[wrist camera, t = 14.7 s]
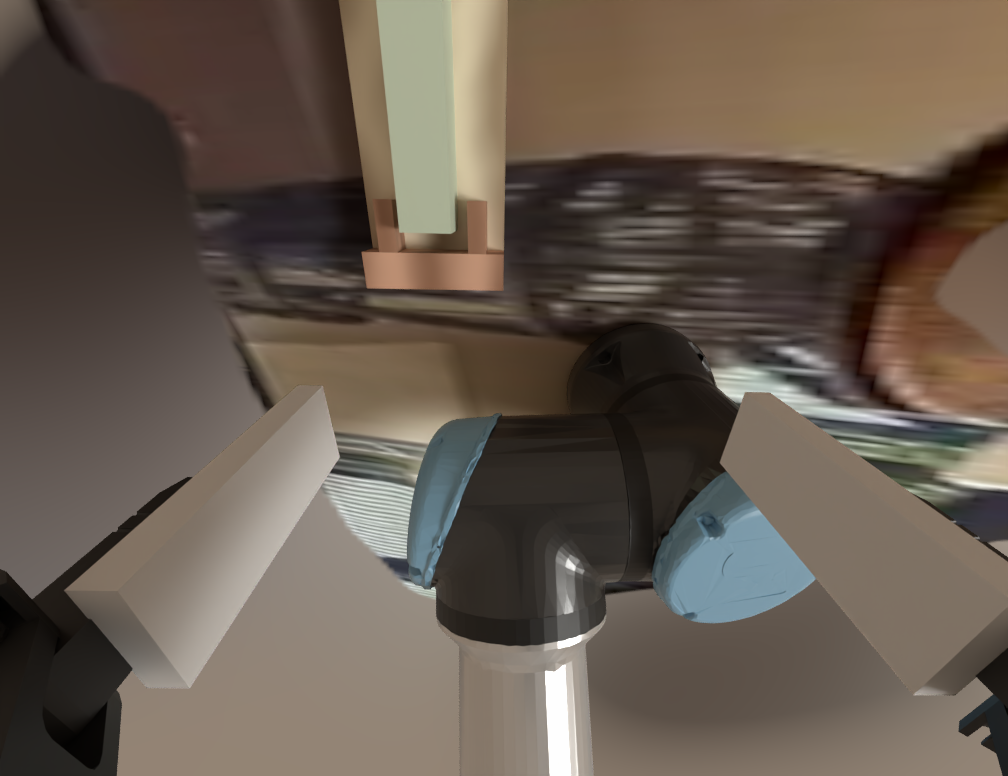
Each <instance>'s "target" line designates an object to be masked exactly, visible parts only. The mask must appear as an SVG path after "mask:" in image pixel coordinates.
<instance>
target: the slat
mask: <svg viewBox="0 0 1008 776" xmlns="http://www.w3.org/2000/svg"><path fill="white" fill-rule="evenodd" d="M376 5H377V15H378V25H379V35H380V45H381V55H382V65H383V75H384V85H385V95H386V104H387V114H388V124H389V134H390V144H391V154H392V164H393V174H394V184H395V194H396V204H397V214H398V224H399V233H438V234H452V233H453V232H455V231H457V230H458V200H457V169H456V138H455V106H454V75H453V44H452V13H451V0H376Z"/></svg>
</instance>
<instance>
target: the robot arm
mask: <svg viewBox="0 0 1008 776" xmlns="http://www.w3.org/2000/svg"><path fill="white" fill-rule="evenodd" d="M567 400H568V405H569V408H570V412H571V414H553V415H522V416H502V414H501V413H496V414H494V415H493V416H490V417H477V418H465V419H456V420H452V421H450V422H448V423H446V424H444V425H443V426H442V427H441V428H440V429H439V430H438V431H437V432H436V433H435V435H434V436H433V438H432V439H431V441H430V443H429V445H428V447H427V450H426V453H425V455H424V458H423V460H422V464H421V467H420V470H419V474H418V477H417V481H416V486H415V490H414V495H413V500H412V505H411V512H410V519H409V528H408V538H407V560H408V563H409V575H410V578H411V580H412V582H413V583H414V584H415V585H418V586H422V587H423V588H424V589H431V588H432V587H435V588H436V617H437V622H438V625H439V627H440V628H441V629H442V631H443V632H444V633H445V634H446V635H448V636H449V637H450V638H451V639H452V640H453V641H454V642H455V643H457V644H458V646H459V736H460V738H459V741H460V742H459V748H460V749H459V750H460V751H459V752H460V776H594V773H593V758H592V742H591V726H590V713H589V695H588V681H587V680H588V679H587V664H586V650H585V649H586V648H585V645H586V643H587V642H588V641H589V640H590V639H591V638H592V637H593V636H594V635H595V634H596V633H597V632H598V631H599V630H600V629H601V628H602V626H603V625H604V623H605V620H606V601H605V583H606V582H619V581H653V586H654V590H655V592H656V593H657V595H658V596H659V597H660V599H662V600H663V601H664V603H665V604H666V605H667V607H668V608H669V609H670V610H671V611H673V612H675V613H676V614H678V615H682V616H683V617H684V618H686V619H688V620H691V621H695V622H701V623H723V622H730V621H735V620H739V619H744V618H747V617H751V616H754V615H756V614H759V613H761V612H764V611H767V610H769V609H771V608H773V607H775V606H777V605H779V604H781V603H783V602H785V601H786V600H788V599H790V598H791V597H792V596H794V595H796V594H798V593H799V592H800V591H802V590H803V589H804V588H806V587H807V586H808V585H809V584H811V583H812V582H813V581H814V580H815V579H817V580H818V581H819V583H820V584H821V585H822V586H823V587H824V589H825V590H826V591H827V592H828V593H829V595H830V596H831V597H832V598H833V599H834V601H835V602H836V603H837V604H838V605H839V607H840V608H841V609H842V610H843V611H844V613H845V614H846V615H847V616H848V617H849V618H850V620H851V621H852V622H853V623H854V624H855V626H856V627H857V628H858V629H859V630H860V632H861V633H862V634H863V635H864V637H865V638H866V639H867V640H868V641H869V642H870V644H871V645H872V646H873V647H874V648H875V650H876V651H877V652H878V653H879V655H880V656H881V657H882V658H883V659H884V661H885V662H886V663H887V664H888V665H889V666H890V668H891V669H892V670H893V671H894V673H896V675H897V676H898V677H899V679H900V680H901V681H902V682H903V683H904V685H905V686H906V687H907V688H908V689H909V691H910V692H911V693H912V694H913V695H956V694H957V693H958V692H959V691H961V690H962V689H963V688H964V687H965V686H966V685H968V684H969V683H970V682H971V681H972V680H973V679H975V678H976V677H977V678H978V679H979V680H980V681H981V682H982V683H983V684H984V685H985V686H986V687H987V688H988V689H989V690H990V691H991V692H992V693H993V695H992V696H991V697H990V698H988V699H987V700H986V701H984V702H983V703H982V704H981V705H980V706H978V707H977V708H976V709H974V710H973V711H972V712H971V713H969V714H968V715H967V716H966V717H964V718H963V719H962V720H960V721H959V732H960V733H962V734H964V735H965V736H969V735H971V734H972V733H973V732H975V731H976V730H978V729H979V728H980V727H981V726H986V727H989V728H990V732H991V734H990V735H989V736H988V737H986V738H985V739H984V740H983V741H982V742H981V745H983V746H985V747H986V748H988V749H990V750H992V751H994V752H995V753H996V754H997V757H998V760H999V764H1000V768H1001V771H1002V775H1003V776H1008V557H1007V556H1005V555H1004V554H1002V553H1001V552H1000V551H998V550H997V549H995V548H994V547H992V546H991V545H990V544H988V543H987V542H981V541H980V540H979V537H978V536H977V535H975V534H974V533H972V532H971V531H970V530H968V529H967V528H965V527H964V526H962V525H957V524H956V521H955V520H954V519H953V518H951V517H950V516H948V515H947V514H945V513H944V512H943V511H941V510H940V509H938V508H937V507H935V506H934V505H933V504H931V503H930V502H928V501H926V500H924V499H922V498H920V497H918V496H916V495H914V494H912V493H911V492H909V491H907V490H906V489H905V488H903V487H902V486H900V485H899V484H898V483H896V482H895V481H893V480H892V479H891V478H889V477H888V476H886V475H885V474H884V473H882V472H881V471H879V470H878V469H876V468H875V467H874V466H872V465H871V464H869V463H868V462H867V461H865V460H864V459H862V458H861V457H860V456H858V455H857V454H855V453H854V452H853V451H851V450H850V449H848V448H847V447H846V446H844V445H843V444H841V443H840V442H838V441H837V440H836V439H834V438H833V437H831V436H830V435H829V434H827V433H826V432H824V431H823V430H822V429H820V428H819V427H817V426H816V425H815V424H813V423H812V422H810V421H809V420H808V419H806V418H805V417H803V416H802V415H801V414H799V413H798V412H796V411H795V410H793V409H792V408H791V407H789V406H788V405H786V404H785V403H784V402H782V401H781V400H779V399H778V398H777V397H775V396H774V395H772V394H771V393H763V392H745V394H744V397H743V400H742V403H741V405H740V406H738V405H737V404H736V403H735V402H734V401H732V400H731V399H730V398H729V397H727V396H726V395H725V394H724V393H723V392H722V391H720V390H719V389H718V388H717V385H716V382H715V380H714V377H713V374H712V372H711V368H710V366H709V363H708V361H707V359H706V357H705V355H704V354H703V353H702V351H701V350H700V349H699V348H698V347H697V346H696V345H695V344H694V343H693V342H692V341H690V340H689V339H688V338H686V337H685V336H684V335H682V334H681V333H679V332H678V331H676V330H674V329H671V328H669V327H666V326H662V325H657V324H634V325H629V326H625V327H622V328H619V329H616V330H613V331H611V332H609V333H607V334H605V335H604V336H602V337H600V338H599V339H598V340H596V341H595V342H594V343H592V344H591V345H590V346H589V347H588V348H587V349H586V350H585V351H584V352H583V353H582V355H581V356H580V357H579V359H578V360H577V362H576V363H575V365H574V367H573V369H572V372H571V374H570V377H569V381H568V386H567ZM339 457H340V456H339V452H338V448H337V443H336V439H335V435H334V431H333V426H332V422H331V418H330V414H329V410H328V405H327V401H326V397H325V393H324V388H323V385H297V386H296V387H295V388H294V389H293V390H292V391H291V392H289V393H288V394H287V395H286V396H285V397H284V398H283V399H281V400H280V401H279V402H278V403H277V404H276V405H275V406H274V407H272V408H271V409H270V410H269V411H268V412H267V413H266V414H264V415H263V416H262V417H261V418H260V419H259V420H258V421H256V423H254V424H253V425H252V426H251V427H250V428H249V429H247V430H246V431H245V432H244V433H243V434H242V435H241V436H240V437H238V438H237V439H236V440H235V441H234V442H233V443H232V444H230V445H229V446H228V447H227V448H226V449H225V450H223V451H222V452H221V453H220V454H219V455H218V456H217V457H216V458H214V459H213V460H212V461H211V462H210V463H209V464H208V465H206V466H205V467H204V468H203V469H202V470H201V471H200V472H198V473H197V474H196V475H195V476H194V477H187V478H185V479H183V480H181V481H180V482H178V483H176V484H174V485H173V486H171V487H169V488H167V489H165V490H164V491H162V492H160V493H159V494H157V495H156V496H155V497H154V498H153V499H152V500H151V501H149V502H148V503H147V504H146V505H144V506H143V507H142V508H141V509H140V510H139V511H137V515H136V516H131V517H130V518H129V519H128V520H127V521H125V522H124V523H123V524H122V525H121V526H119V527H118V531H117V532H112V533H111V534H110V535H109V536H108V537H106V538H105V539H104V540H103V541H102V542H100V543H99V544H98V545H97V546H95V547H94V548H93V549H92V550H91V551H90V552H89V553H87V554H86V555H85V556H84V557H82V558H81V559H80V560H79V561H78V562H77V563H75V564H74V565H73V566H72V567H70V568H69V569H68V570H67V571H66V572H64V573H63V574H62V575H61V576H60V577H59V578H57V579H56V580H55V581H54V582H53V583H51V584H50V585H49V586H48V587H47V588H45V589H44V590H43V591H42V592H41V593H40V594H38V595H37V596H36V597H35V598H34V599H31V598H30V597H29V596H28V595H27V594H26V593H25V591H24V590H23V589H22V588H21V587H20V586H19V585H18V584H17V583H16V582H15V581H14V580H13V579H12V577H11V576H10V575H9V574H8V573H7V572H5V571H3V570H1V569H0V776H117V763H118V750H119V734H120V722H121V708H122V703H121V699H120V695H119V693H118V692H117V690H116V689H117V688H118V687H119V685H120V684H121V683H122V682H123V681H124V679H125V678H126V677H127V676H128V674H129V673H130V672H131V671H133V672H134V673H135V675H136V676H137V677H138V678H139V679H140V681H141V682H142V683H143V684H144V685H145V686H146V688H190V687H191V685H192V684H193V682H194V681H195V679H196V678H197V676H198V675H199V673H200V672H201V670H202V669H203V667H204V665H205V664H206V662H207V661H208V659H209V658H210V656H211V655H212V653H213V652H214V650H215V648H216V647H217V645H218V644H219V642H220V641H221V639H222V638H223V636H224V635H225V633H226V632H227V630H228V628H229V627H230V625H231V624H232V622H233V621H234V619H235V618H236V616H237V614H238V613H239V612H240V610H241V608H242V606H243V605H244V604H245V602H246V601H247V599H248V598H249V596H250V595H251V593H252V591H253V590H254V588H255V587H256V585H257V584H258V582H259V581H260V579H261V578H262V576H263V575H264V573H265V571H266V570H267V568H268V567H269V565H270V564H271V562H272V561H273V559H274V557H275V556H276V555H277V553H278V551H279V550H280V548H281V547H282V545H283V544H284V542H285V541H286V539H287V538H288V536H289V534H290V533H291V531H292V530H293V528H294V527H295V525H296V523H297V522H298V520H299V519H300V518H301V516H302V514H303V513H304V511H305V510H306V508H307V507H308V505H309V504H310V502H311V501H312V499H313V497H314V496H315V494H316V493H317V491H318V490H319V488H320V487H321V485H322V484H323V482H324V481H325V479H326V477H327V476H328V474H329V473H330V471H331V470H332V468H333V467H334V465H335V464H336V462H337V461H338V459H339Z"/></svg>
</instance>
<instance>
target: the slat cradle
mask: <svg viewBox="0 0 1008 776" xmlns="http://www.w3.org/2000/svg"><path fill="white" fill-rule="evenodd" d="M339 6H340V13H341V20H342V27H343V35H344V42H345V49H346V56H347V63H348V71H349V78H350V85H351V92H352V100H353V107H354V114H355V121H356V129H357V136H358V143H359V150H360V157H361V165H362V172H363V179H364V186H365V194H366V201H367V208H368V215H369V222H370V230H371V237H372V244H373V248H372V249H369V250H366V251H363V252H362V258H363V265H364V271H365V278H366V285H367V288H384V289H439V290H494V291H503V266H504V203H505V142H506V82H507V21H508V0H451V13H452V44H453V75H454V106H455V138H456V169H457V200H458V230H457V231H455V232H453V233H452V234H438V233H399V224H398V214H397V204H396V194H395V184H394V174H393V164H392V154H391V144H390V134H389V124H388V114H387V104H386V95H385V85H384V75H383V65H382V55H381V45H380V35H379V25H378V15H377V5H376V0H339Z"/></svg>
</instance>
